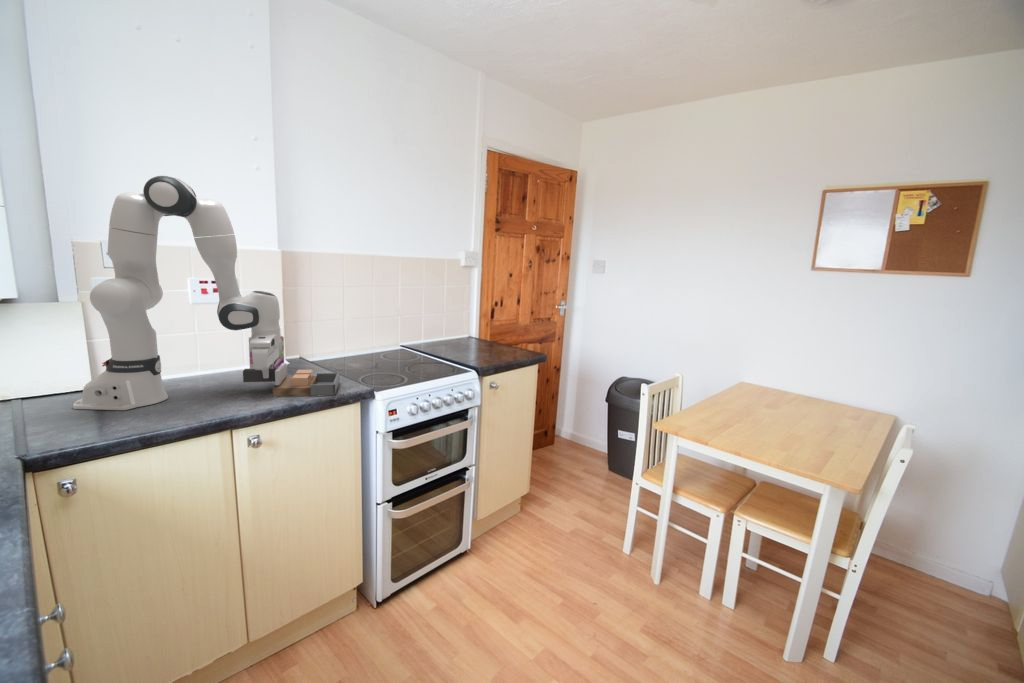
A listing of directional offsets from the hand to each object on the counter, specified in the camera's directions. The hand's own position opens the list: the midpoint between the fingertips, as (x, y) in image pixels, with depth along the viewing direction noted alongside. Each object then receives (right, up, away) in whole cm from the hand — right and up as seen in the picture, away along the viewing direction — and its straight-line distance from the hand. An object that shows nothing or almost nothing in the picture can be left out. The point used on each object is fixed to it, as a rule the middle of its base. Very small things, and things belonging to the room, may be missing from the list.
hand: (268, 376), depth 157 cm
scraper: (-2, -2, 0) cm, 2 cm away
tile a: (+12, -3, +1) cm, 12 cm away
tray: (+18, -5, +6) cm, 20 cm away
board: (+8, -5, +4) cm, 10 cm away
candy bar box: (-9, -2, +16) cm, 18 cm away
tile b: (+10, -2, +7) cm, 12 cm away
